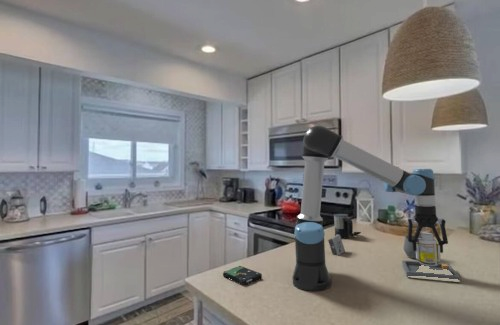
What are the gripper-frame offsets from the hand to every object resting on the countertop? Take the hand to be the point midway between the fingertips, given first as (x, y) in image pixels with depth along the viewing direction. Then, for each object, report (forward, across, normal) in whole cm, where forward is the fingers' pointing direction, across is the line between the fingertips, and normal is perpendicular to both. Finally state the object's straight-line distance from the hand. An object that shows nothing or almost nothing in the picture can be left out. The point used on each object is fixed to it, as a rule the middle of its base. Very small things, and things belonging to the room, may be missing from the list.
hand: (428, 259), depth 118 cm
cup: (+6, +2, -22) cm, 23 cm away
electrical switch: (+6, +39, -20) cm, 44 cm away
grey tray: (+6, 0, 0) cm, 6 cm away
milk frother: (+6, +36, -58) cm, 68 cm away
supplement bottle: (+2, 0, 0) cm, 2 cm away
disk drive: (+7, +75, +27) cm, 80 cm away
